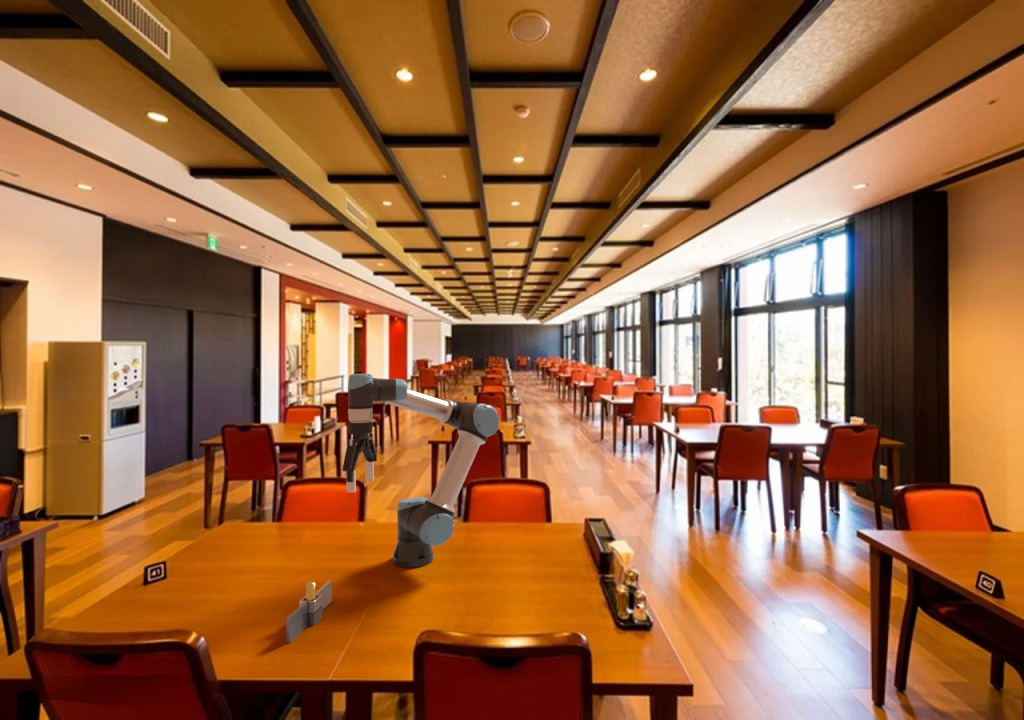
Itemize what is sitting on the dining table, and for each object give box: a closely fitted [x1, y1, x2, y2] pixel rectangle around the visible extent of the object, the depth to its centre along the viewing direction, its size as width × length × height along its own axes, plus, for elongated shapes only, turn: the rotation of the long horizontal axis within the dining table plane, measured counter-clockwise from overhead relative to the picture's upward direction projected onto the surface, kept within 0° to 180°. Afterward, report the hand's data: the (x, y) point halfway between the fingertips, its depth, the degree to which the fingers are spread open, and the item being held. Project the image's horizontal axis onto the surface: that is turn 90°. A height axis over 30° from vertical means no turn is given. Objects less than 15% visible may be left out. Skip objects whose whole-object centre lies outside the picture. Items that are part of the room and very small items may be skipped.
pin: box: [305, 580, 317, 601], centre depth 143 cm, size 3×3×11 cm
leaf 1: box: [298, 580, 333, 613], centre depth 147 cm, size 13×5×6 cm, turn 172°
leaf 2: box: [285, 602, 324, 644], centre depth 138 cm, size 14×5×7 cm, turn 172°
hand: (360, 486), depth 159 cm, fingers open, 13 cm apart
